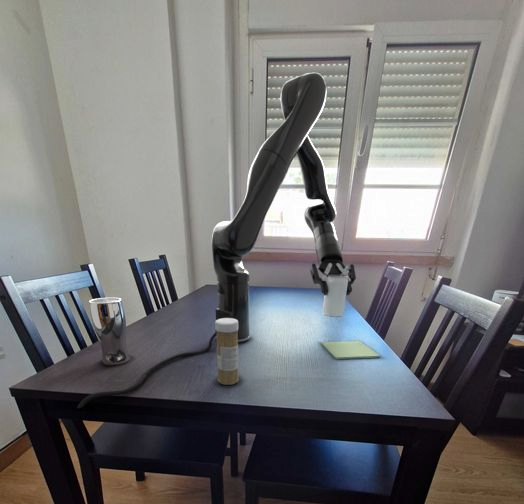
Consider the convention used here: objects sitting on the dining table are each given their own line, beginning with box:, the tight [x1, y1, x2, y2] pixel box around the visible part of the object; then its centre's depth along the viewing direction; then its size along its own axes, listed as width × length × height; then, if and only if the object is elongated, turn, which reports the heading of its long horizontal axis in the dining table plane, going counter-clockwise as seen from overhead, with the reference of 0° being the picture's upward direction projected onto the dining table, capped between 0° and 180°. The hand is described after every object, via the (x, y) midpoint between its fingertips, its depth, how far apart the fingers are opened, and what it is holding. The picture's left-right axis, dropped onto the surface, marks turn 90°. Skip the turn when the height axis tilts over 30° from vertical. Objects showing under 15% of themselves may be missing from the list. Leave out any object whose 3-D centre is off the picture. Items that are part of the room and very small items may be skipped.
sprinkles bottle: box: [214, 318, 240, 386], centre depth 58 cm, size 5×5×13 cm
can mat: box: [321, 340, 381, 360], centre depth 79 cm, size 12×12×1 cm
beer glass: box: [88, 297, 131, 366], centre depth 67 cm, size 7×7×15 cm
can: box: [322, 274, 348, 318], centre depth 86 cm, size 6×6×12 cm
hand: (337, 293), depth 85 cm, fingers closed on can, 6 cm apart
